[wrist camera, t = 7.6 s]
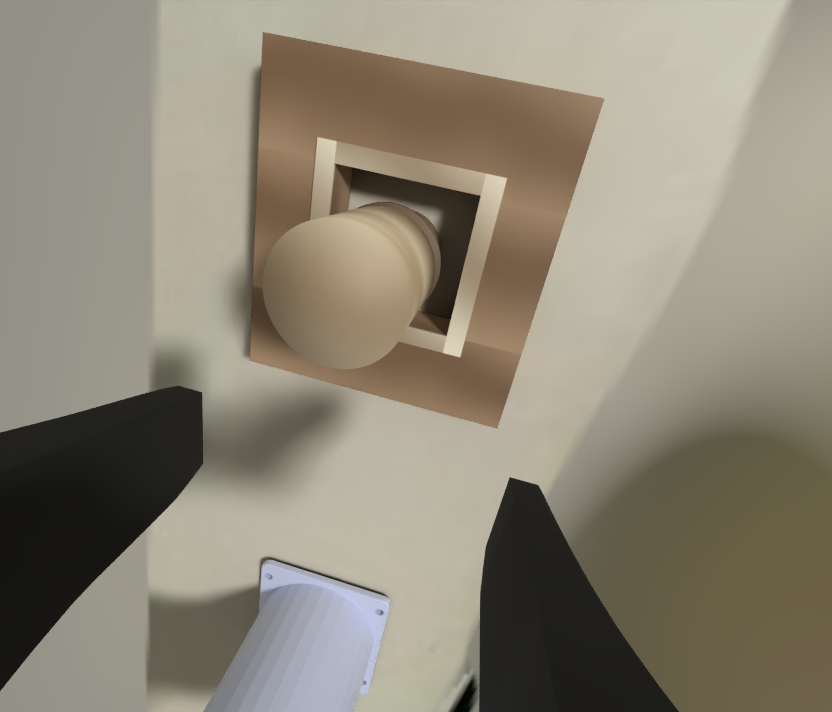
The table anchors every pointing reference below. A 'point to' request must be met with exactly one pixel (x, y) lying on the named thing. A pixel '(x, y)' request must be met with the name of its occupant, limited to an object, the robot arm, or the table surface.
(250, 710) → the robot arm
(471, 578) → the table surface
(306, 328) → the peg
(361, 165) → the board
